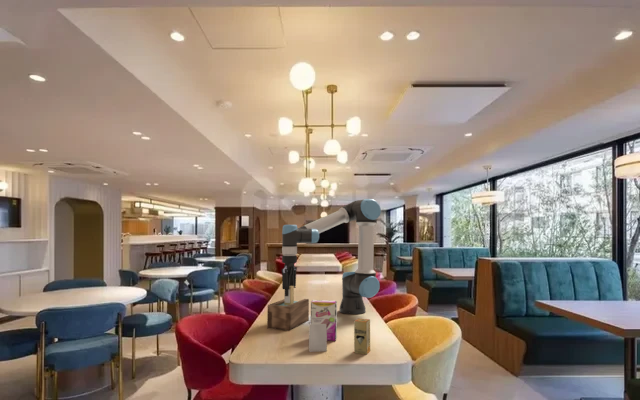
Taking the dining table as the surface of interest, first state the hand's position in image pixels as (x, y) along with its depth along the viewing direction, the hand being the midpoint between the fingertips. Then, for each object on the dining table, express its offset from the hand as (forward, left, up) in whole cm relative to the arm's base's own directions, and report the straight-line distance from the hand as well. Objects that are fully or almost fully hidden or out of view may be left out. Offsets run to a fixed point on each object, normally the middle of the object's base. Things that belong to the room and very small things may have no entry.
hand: (289, 301), depth 199 cm
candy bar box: (-26, +20, -11) cm, 35 cm away
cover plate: (0, 0, -3) cm, 3 cm away
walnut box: (0, 0, -11) cm, 11 cm away
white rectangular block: (-29, +35, -11) cm, 47 cm away
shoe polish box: (-46, +31, -11) cm, 57 cm away
